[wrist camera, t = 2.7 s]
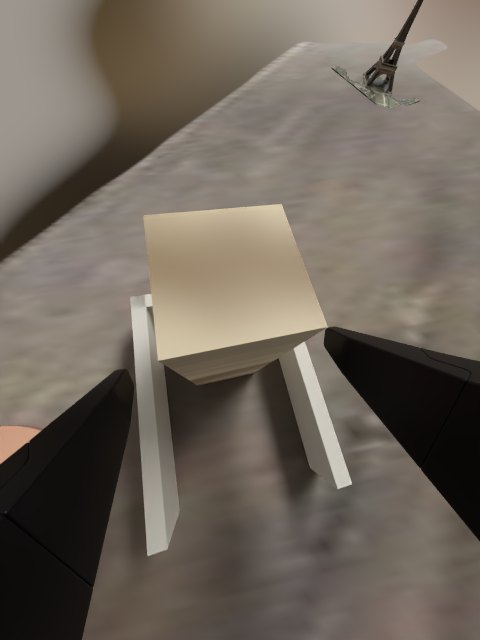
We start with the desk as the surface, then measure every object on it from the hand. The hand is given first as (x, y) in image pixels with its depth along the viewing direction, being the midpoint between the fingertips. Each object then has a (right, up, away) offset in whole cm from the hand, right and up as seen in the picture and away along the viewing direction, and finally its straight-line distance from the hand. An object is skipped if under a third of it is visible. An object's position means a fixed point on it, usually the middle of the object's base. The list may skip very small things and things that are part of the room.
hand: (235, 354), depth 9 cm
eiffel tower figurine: (+25, +45, +31) cm, 60 cm away
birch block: (-2, -1, +10) cm, 10 cm away
